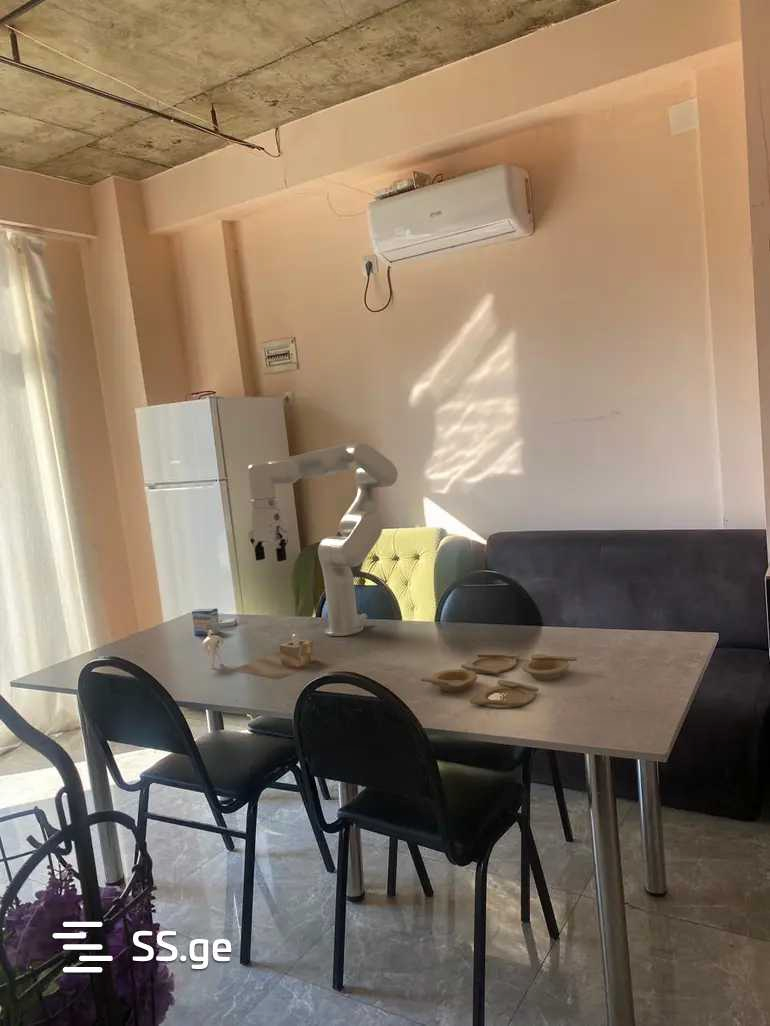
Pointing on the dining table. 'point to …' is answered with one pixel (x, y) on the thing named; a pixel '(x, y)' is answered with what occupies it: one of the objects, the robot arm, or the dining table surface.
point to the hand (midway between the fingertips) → (271, 560)
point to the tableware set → (496, 663)
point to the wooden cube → (297, 653)
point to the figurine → (213, 647)
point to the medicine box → (205, 621)
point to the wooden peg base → (274, 665)
